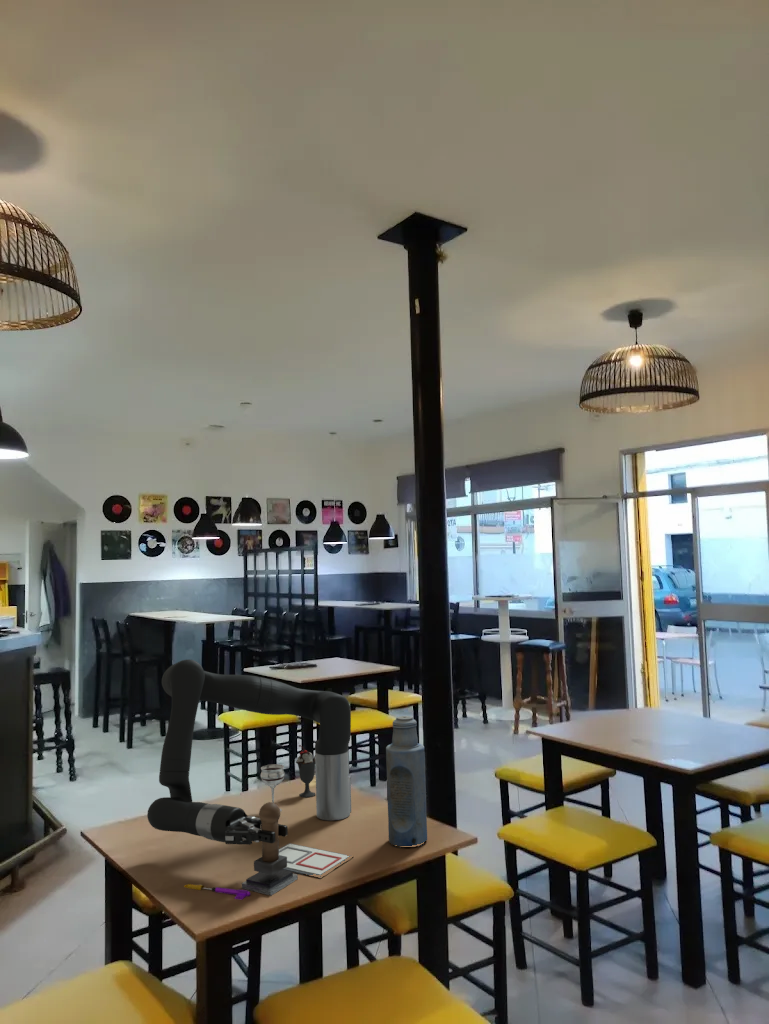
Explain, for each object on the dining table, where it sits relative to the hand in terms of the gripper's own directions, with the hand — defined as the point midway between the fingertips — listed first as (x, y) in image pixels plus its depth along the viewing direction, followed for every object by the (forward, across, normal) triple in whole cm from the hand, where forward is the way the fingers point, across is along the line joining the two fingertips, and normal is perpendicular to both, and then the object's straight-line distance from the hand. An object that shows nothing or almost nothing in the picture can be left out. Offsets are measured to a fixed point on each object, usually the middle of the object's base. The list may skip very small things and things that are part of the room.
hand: (280, 834), depth 152 cm
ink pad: (-3, 0, +11) cm, 11 cm away
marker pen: (-11, -9, +11) cm, 18 cm away
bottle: (+12, +34, +11) cm, 38 cm away
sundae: (-34, +54, +11) cm, 65 cm away
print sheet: (-4, +13, +11) cm, 17 cm away
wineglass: (-34, +38, +11) cm, 52 cm away
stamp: (-3, 0, +8) cm, 8 cm away
